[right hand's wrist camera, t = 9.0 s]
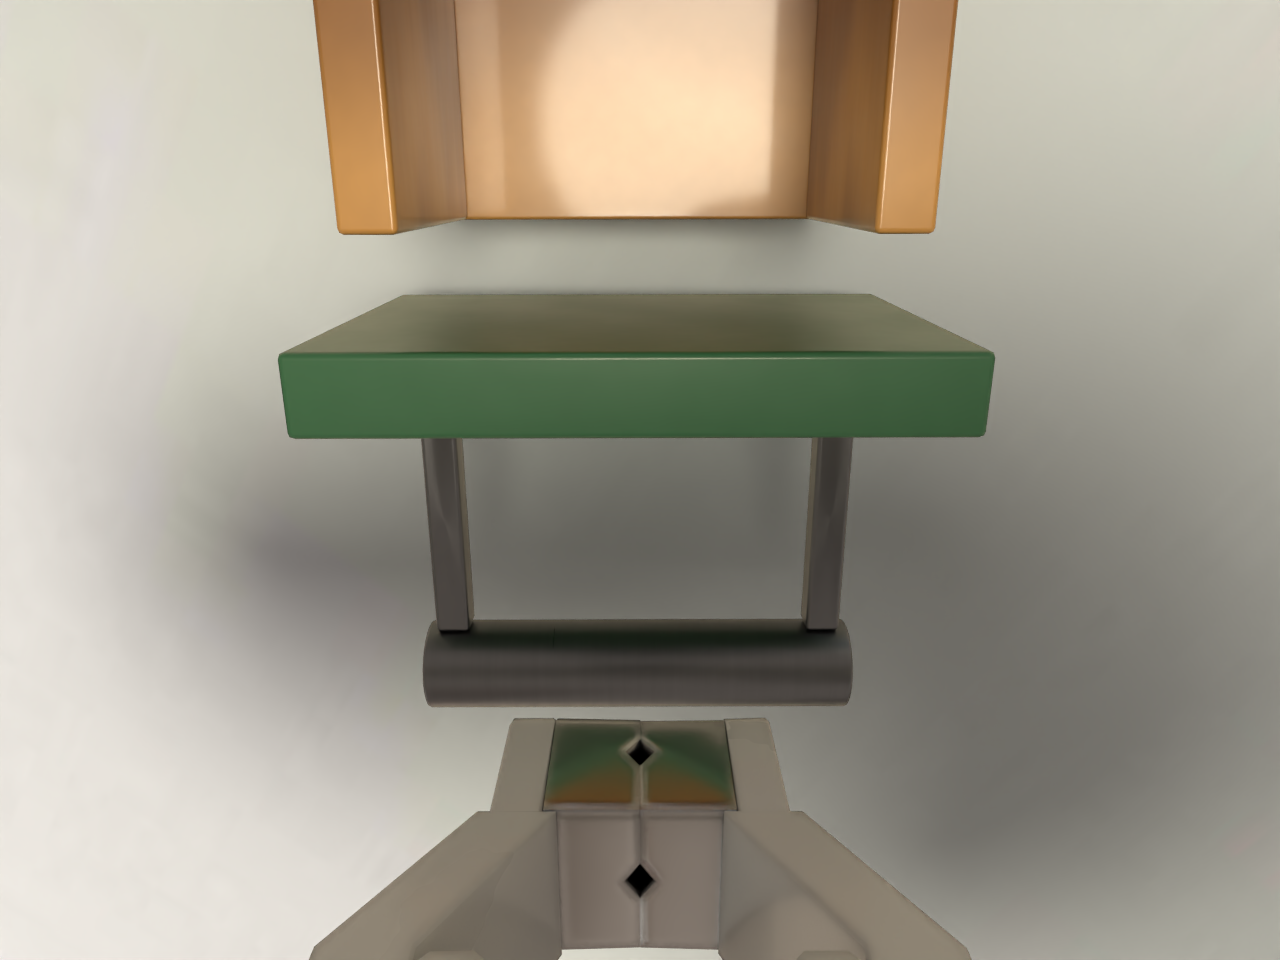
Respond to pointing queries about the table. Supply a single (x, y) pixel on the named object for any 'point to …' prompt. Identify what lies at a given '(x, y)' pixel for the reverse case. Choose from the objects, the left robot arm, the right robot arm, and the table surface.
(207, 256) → the table surface
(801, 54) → the drawer
